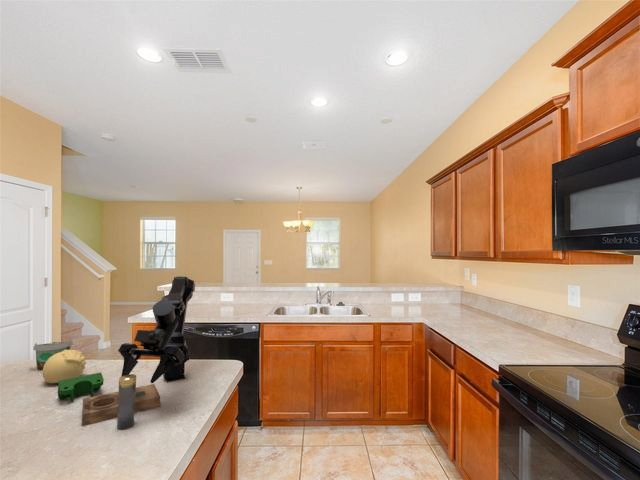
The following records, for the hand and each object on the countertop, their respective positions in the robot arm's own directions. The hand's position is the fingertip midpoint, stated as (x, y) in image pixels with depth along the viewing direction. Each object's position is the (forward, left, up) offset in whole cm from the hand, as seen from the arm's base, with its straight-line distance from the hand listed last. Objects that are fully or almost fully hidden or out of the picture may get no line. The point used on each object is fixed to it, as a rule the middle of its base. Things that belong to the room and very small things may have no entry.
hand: (136, 381), depth 88 cm
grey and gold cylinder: (+2, +2, -10) cm, 11 cm away
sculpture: (+17, -44, -11) cm, 48 cm away
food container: (+22, -61, -11) cm, 66 cm away
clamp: (+12, -25, -11) cm, 30 cm away
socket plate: (+2, -10, -10) cm, 14 cm away
